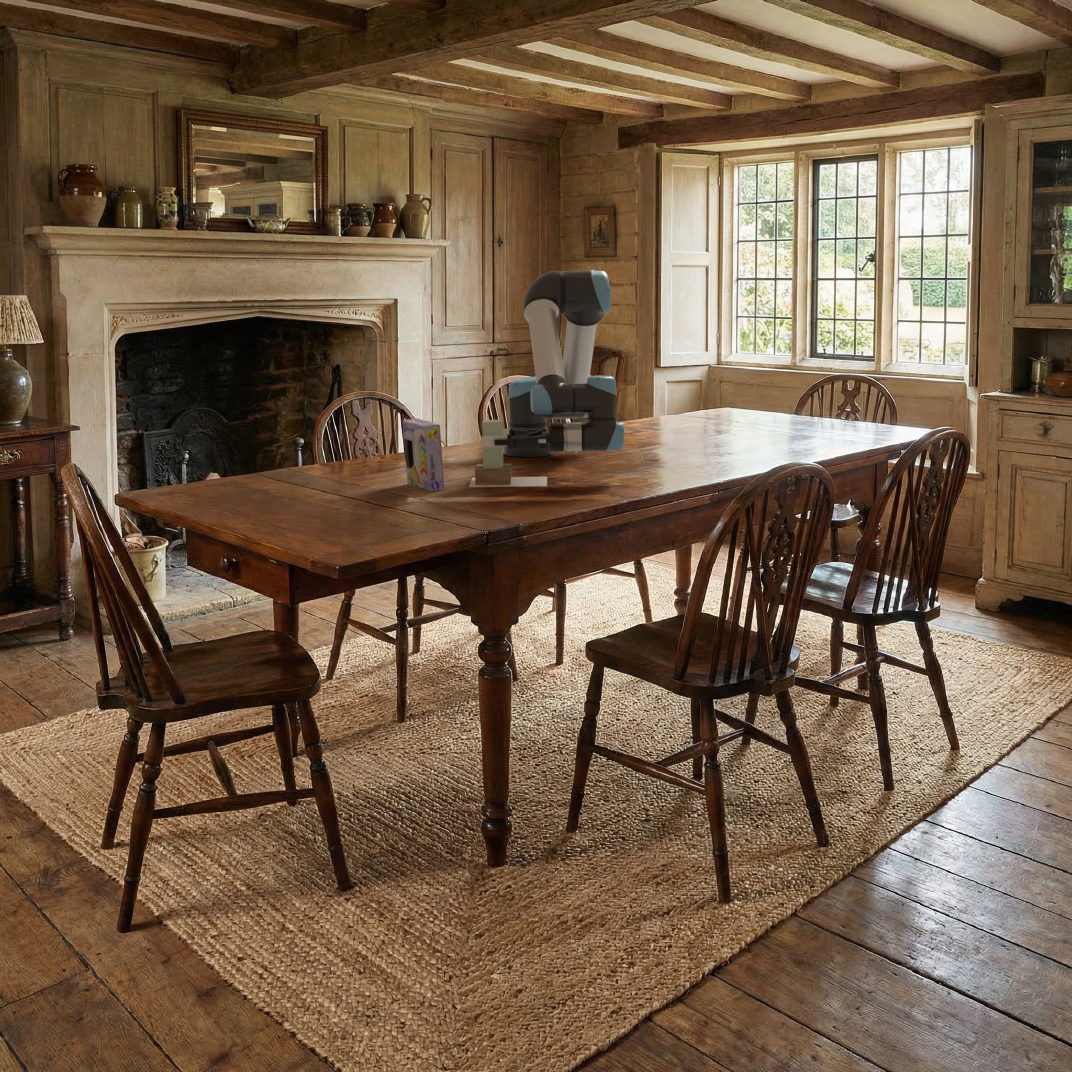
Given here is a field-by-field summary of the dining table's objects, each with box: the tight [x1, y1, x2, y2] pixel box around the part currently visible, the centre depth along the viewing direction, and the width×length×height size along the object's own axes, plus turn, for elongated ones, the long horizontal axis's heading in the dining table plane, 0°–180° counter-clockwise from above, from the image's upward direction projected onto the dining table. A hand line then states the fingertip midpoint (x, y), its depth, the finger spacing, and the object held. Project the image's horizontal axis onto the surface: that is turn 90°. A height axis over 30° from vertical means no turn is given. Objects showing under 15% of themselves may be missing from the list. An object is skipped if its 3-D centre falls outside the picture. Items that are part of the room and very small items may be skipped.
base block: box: [474, 463, 512, 485], centre depth 304 cm, size 9×9×4 cm
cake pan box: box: [402, 417, 445, 492], centre depth 301 cm, size 19×5×18 cm, turn 24°
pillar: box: [481, 419, 504, 468], centre depth 303 cm, size 5×5×12 cm
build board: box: [468, 476, 548, 488], centre depth 305 cm, size 14×20×1 cm
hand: (483, 438), depth 302 cm, fingers open, 13 cm apart
